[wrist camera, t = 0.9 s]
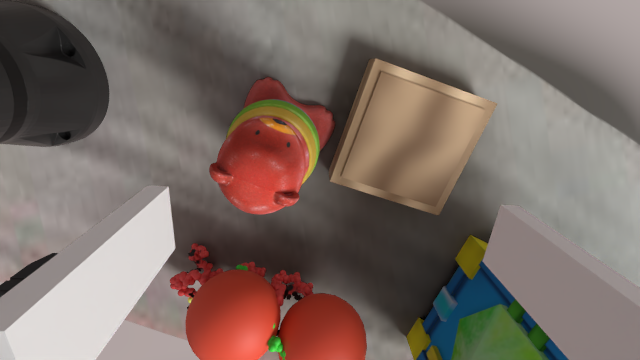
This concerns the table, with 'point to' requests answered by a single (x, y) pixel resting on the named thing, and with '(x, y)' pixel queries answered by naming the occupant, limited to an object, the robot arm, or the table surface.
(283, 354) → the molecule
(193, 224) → the table surface
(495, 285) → the decorative book
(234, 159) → the stacking bear
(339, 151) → the oak stand
